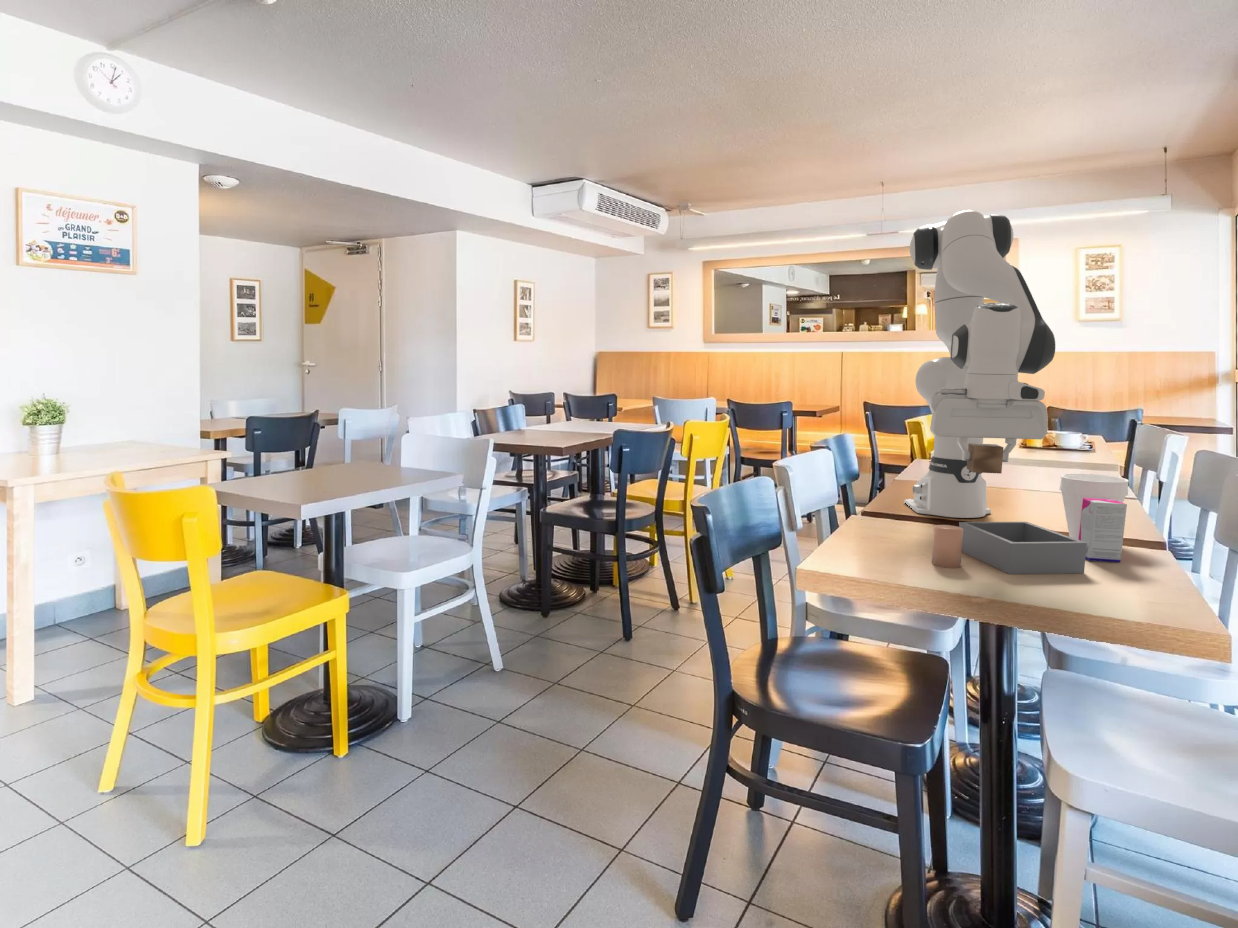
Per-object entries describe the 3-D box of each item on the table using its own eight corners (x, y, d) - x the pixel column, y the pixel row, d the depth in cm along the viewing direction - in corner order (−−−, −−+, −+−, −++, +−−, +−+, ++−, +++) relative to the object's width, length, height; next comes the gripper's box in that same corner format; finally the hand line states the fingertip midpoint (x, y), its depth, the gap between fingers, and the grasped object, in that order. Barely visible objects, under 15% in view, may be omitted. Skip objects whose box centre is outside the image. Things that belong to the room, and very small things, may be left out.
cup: (1134, 549, 151) (1141, 483, 149) (1068, 546, 153) (1074, 481, 151) (1106, 535, 163) (1112, 474, 161) (1046, 533, 165) (1051, 472, 163)
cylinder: (926, 560, 141) (929, 524, 140) (952, 560, 141) (954, 524, 141) (939, 568, 136) (942, 530, 135) (965, 567, 136) (968, 530, 136)
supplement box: (1122, 563, 140) (1128, 503, 139) (1087, 561, 141) (1093, 502, 140) (1108, 555, 146) (1114, 498, 144) (1075, 553, 147) (1080, 497, 146)
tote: (957, 549, 150) (959, 522, 149) (1023, 548, 151) (1026, 521, 150) (1008, 573, 132) (1011, 543, 132) (1084, 573, 133) (1086, 542, 132)
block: (973, 472, 141) (975, 446, 141) (966, 468, 146) (968, 443, 145) (1001, 473, 140) (1003, 447, 140) (993, 469, 145) (996, 444, 144)
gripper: (935, 389, 140) (930, 461, 142) (1054, 391, 136) (1047, 465, 138) (929, 387, 146) (924, 456, 148) (1042, 389, 142) (1035, 460, 144)
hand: (984, 461), depth 143 cm, fingers closed on block, 5 cm apart
